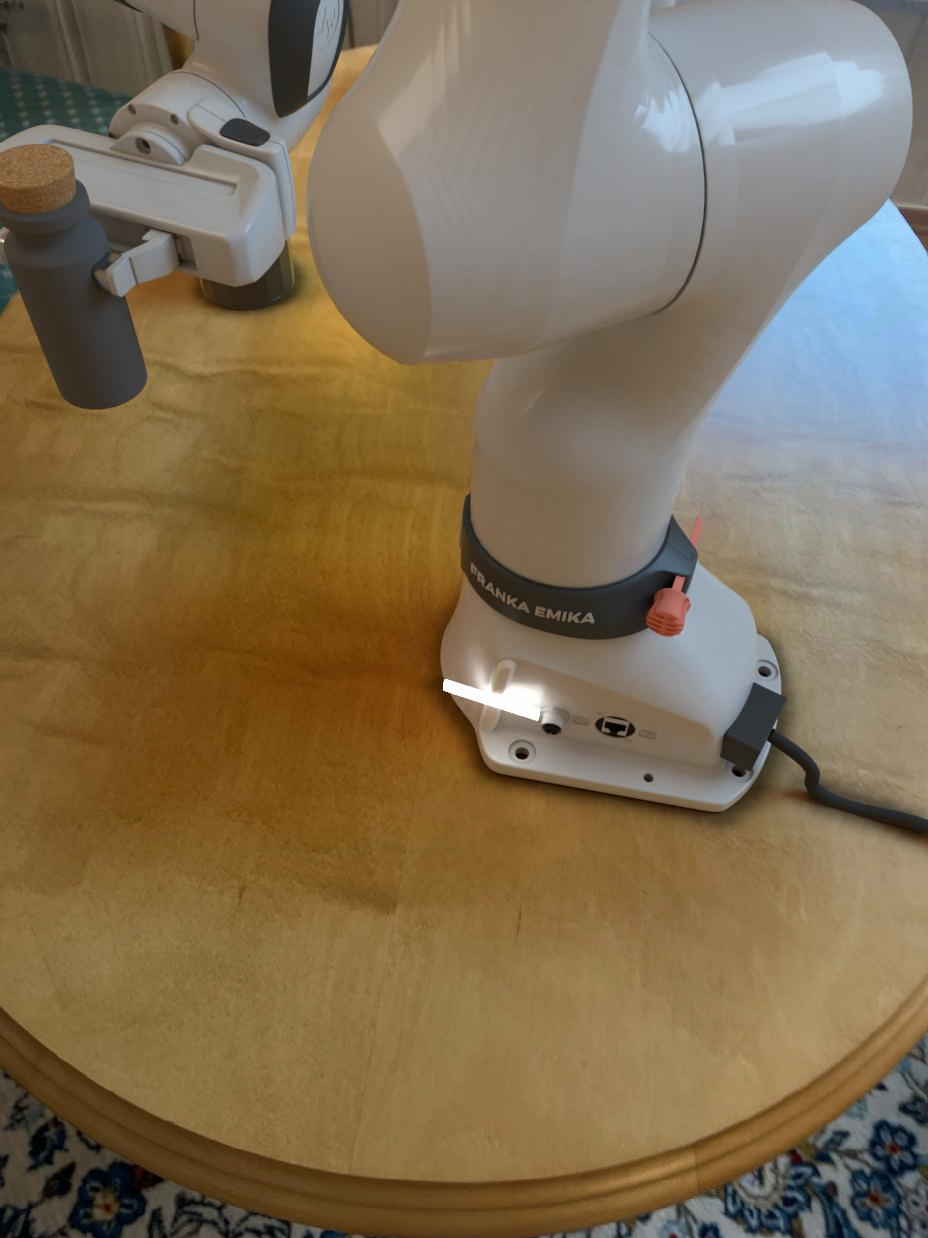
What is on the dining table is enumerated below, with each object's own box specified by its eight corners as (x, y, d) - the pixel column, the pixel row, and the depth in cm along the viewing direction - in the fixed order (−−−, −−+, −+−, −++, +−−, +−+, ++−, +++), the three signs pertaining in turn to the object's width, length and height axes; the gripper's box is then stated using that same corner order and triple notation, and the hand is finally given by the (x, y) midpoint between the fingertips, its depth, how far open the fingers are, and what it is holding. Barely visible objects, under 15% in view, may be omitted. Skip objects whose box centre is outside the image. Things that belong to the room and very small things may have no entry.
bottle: (127, 417, 63) (54, 198, 51) (43, 403, 64) (-48, 184, 52) (162, 361, 67) (101, 144, 55) (81, 348, 67) (4, 131, 55)
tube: (310, 269, 93) (303, 209, 88) (266, 319, 88) (256, 259, 83) (231, 248, 95) (220, 189, 90) (184, 296, 90) (169, 236, 85)
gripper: (35, 81, 65) (-112, 180, 57) (308, 144, 61) (190, 261, 53) (64, 172, 70) (-67, 275, 62) (318, 237, 66) (212, 356, 58)
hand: (54, 269), depth 57 cm, fingers closed on bottle, 6 cm apart
